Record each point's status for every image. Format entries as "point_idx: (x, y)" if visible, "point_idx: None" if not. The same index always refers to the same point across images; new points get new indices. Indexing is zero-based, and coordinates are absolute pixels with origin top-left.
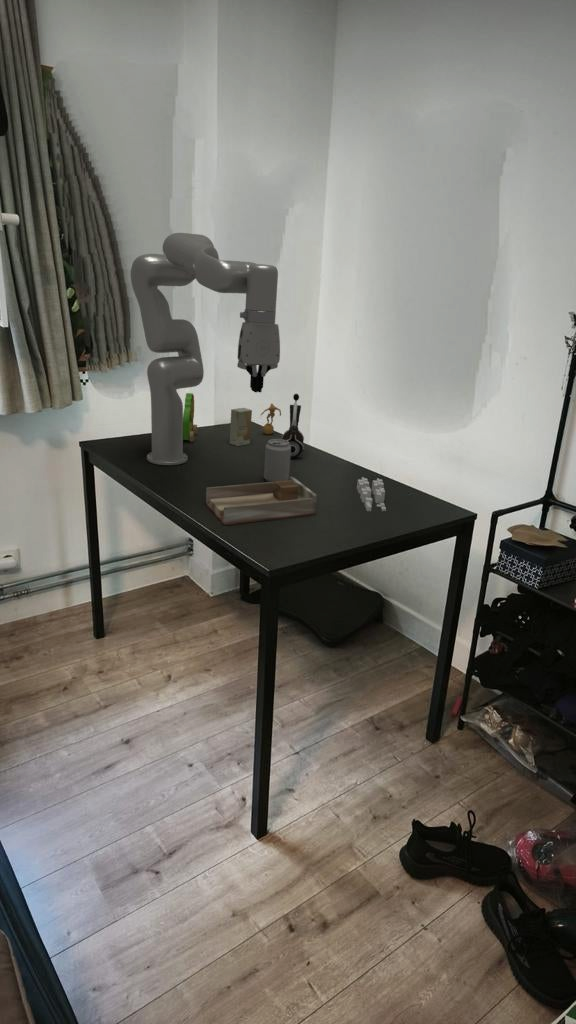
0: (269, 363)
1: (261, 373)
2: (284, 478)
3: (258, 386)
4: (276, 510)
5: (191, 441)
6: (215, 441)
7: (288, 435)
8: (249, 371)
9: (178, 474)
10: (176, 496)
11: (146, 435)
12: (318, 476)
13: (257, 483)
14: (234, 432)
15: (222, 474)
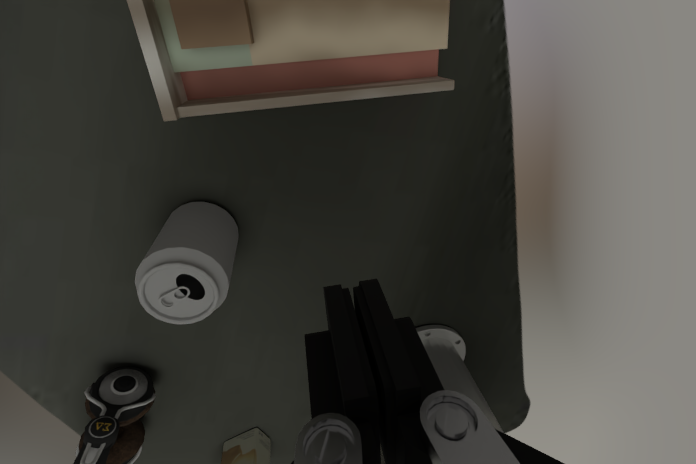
0: None
1: (362, 449)
2: (182, 207)
3: (363, 314)
4: None
5: None
6: None
7: (122, 448)
8: (532, 455)
9: (430, 278)
10: (482, 146)
11: None
12: (66, 248)
13: (294, 103)
14: (261, 461)
15: (334, 274)
